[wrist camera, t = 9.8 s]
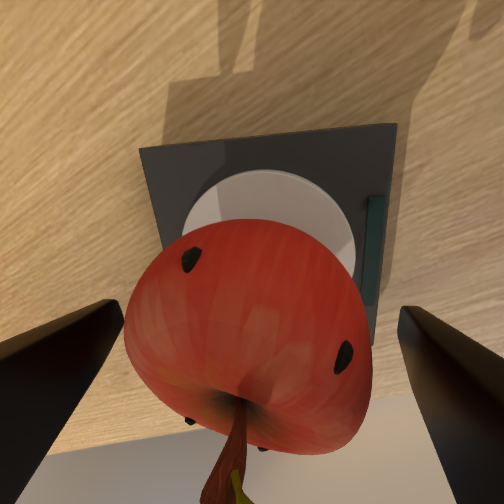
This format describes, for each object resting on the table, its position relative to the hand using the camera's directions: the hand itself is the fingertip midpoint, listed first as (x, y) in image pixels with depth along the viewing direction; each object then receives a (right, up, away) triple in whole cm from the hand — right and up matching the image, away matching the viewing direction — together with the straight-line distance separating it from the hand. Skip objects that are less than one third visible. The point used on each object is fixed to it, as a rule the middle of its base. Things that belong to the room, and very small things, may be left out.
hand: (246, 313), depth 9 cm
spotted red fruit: (+1, +2, +3) cm, 4 cm away
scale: (+1, +3, +6) cm, 6 cm away
